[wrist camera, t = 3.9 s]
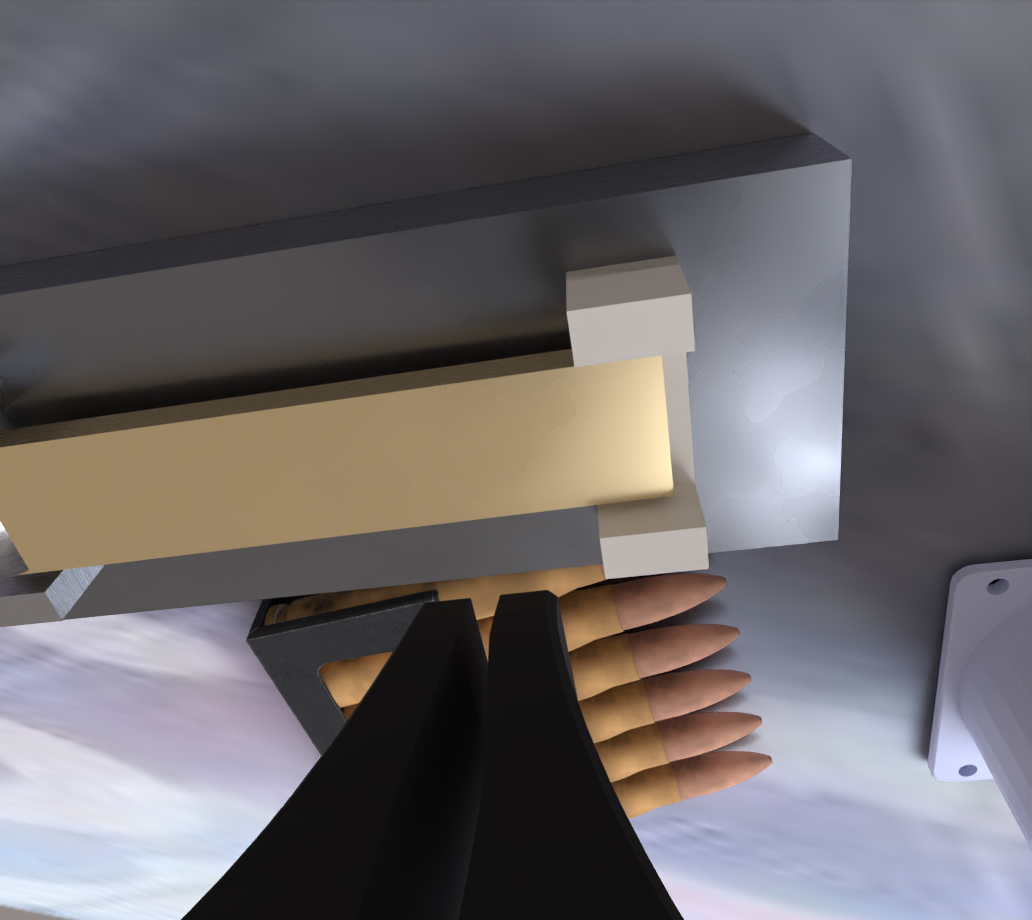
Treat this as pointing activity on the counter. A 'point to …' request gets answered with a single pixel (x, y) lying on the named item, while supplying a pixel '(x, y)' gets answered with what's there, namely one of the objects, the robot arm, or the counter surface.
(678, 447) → the lug
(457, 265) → the block
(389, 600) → the ammunition clip
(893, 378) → the counter surface
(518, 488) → the tan long flat bar
